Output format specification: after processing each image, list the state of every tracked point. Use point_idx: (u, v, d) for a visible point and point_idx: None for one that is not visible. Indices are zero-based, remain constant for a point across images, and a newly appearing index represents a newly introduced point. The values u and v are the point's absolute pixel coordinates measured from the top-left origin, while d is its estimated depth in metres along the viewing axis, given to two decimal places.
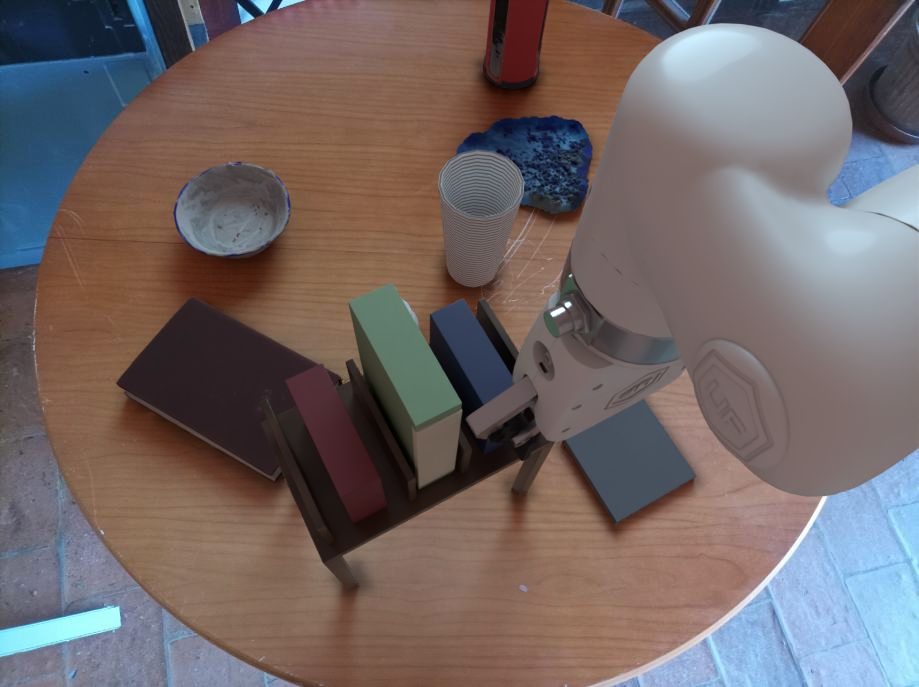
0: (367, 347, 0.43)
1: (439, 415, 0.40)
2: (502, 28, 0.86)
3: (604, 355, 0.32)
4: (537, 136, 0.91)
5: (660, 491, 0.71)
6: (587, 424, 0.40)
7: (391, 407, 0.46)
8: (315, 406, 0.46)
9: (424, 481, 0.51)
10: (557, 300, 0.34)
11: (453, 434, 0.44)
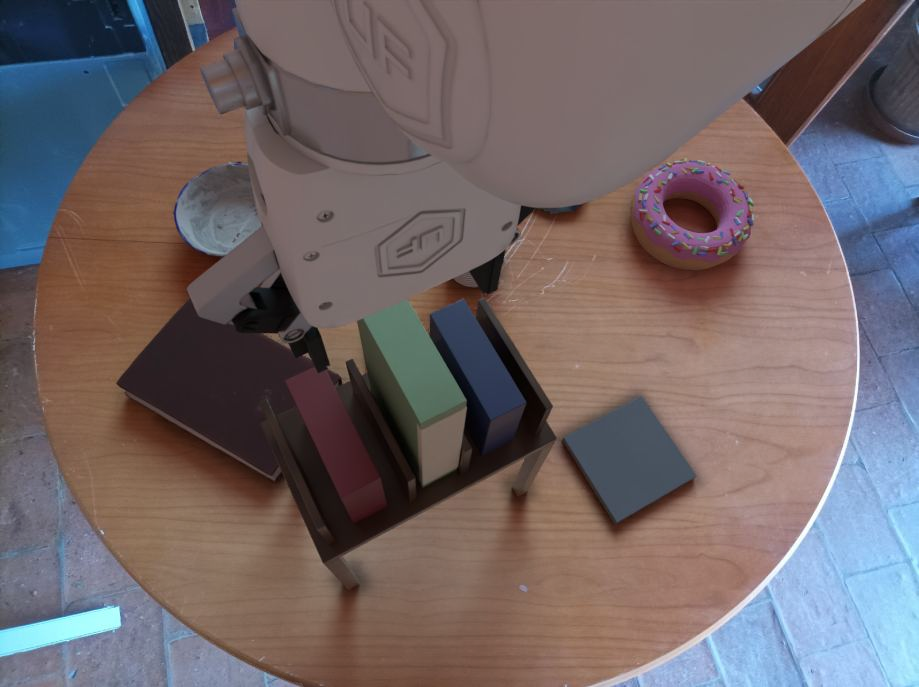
0: (371, 345, 0.43)
1: (444, 412, 0.40)
2: None
3: (311, 152, 0.21)
4: None
5: (660, 491, 0.71)
6: (365, 302, 0.28)
7: (395, 405, 0.46)
8: (315, 406, 0.46)
9: (428, 479, 0.51)
10: None
11: (457, 432, 0.44)
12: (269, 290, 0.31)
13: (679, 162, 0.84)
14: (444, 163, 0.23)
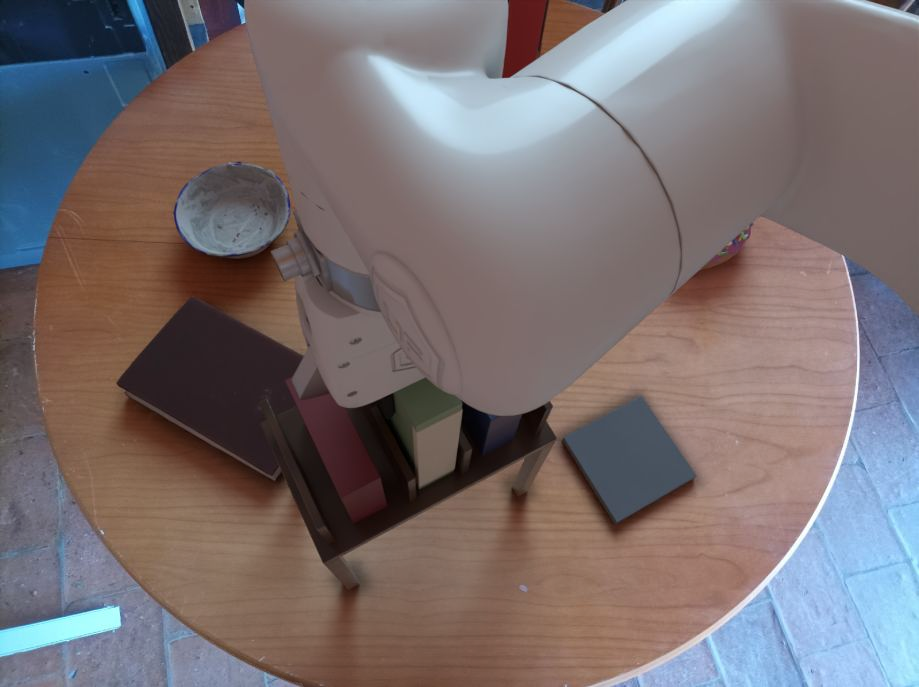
0: None
1: (439, 415, 0.40)
2: None
3: (347, 302, 0.29)
4: None
5: (660, 491, 0.71)
6: (382, 388, 0.37)
7: None
8: (315, 406, 0.46)
9: (424, 481, 0.51)
10: None
11: (453, 434, 0.44)
12: None
13: None
14: None
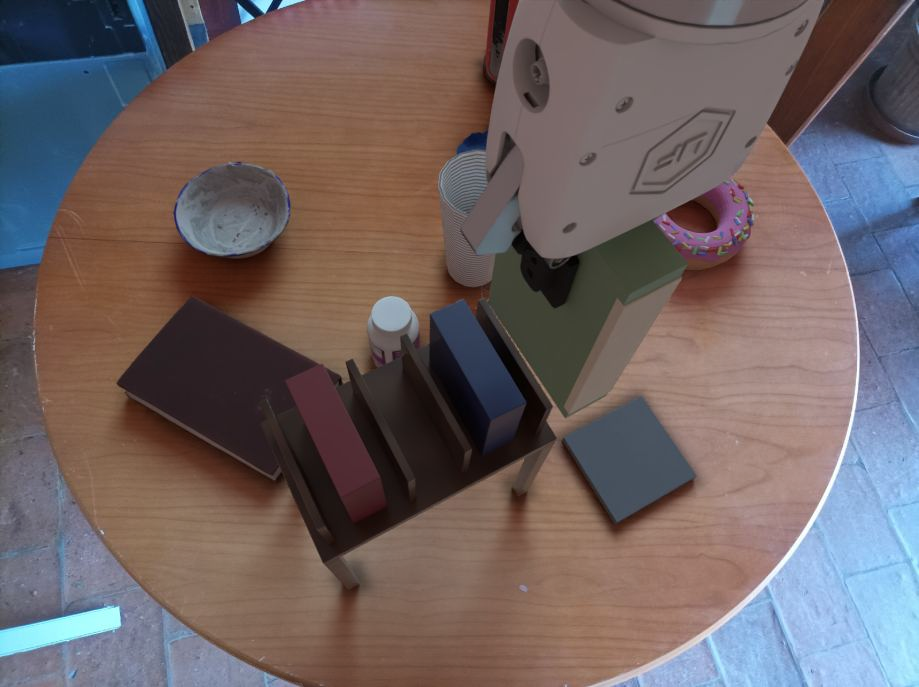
0: None
1: (659, 279, 0.28)
2: (502, 28, 0.86)
3: (638, 17, 0.18)
4: None
5: (660, 491, 0.71)
6: (603, 227, 0.26)
7: None
8: (315, 406, 0.46)
9: (579, 404, 0.40)
10: None
11: (648, 324, 0.33)
12: None
13: None
14: (751, 44, 0.20)
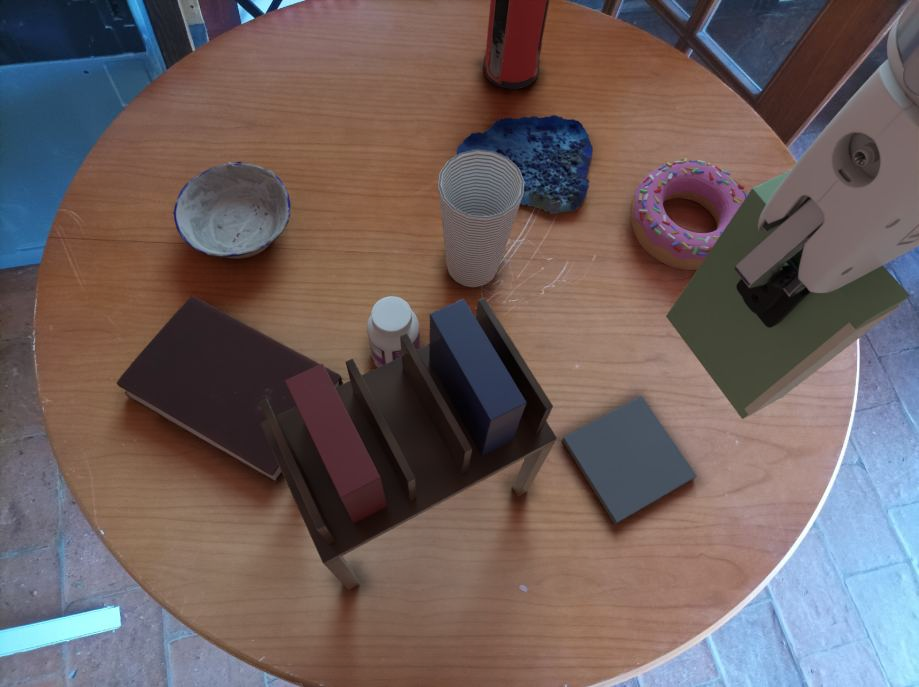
0: None
1: (887, 308, 0.35)
2: (502, 28, 0.86)
3: None
4: (537, 136, 0.91)
5: (660, 491, 0.71)
6: (864, 269, 0.32)
7: None
8: (315, 406, 0.46)
9: (761, 407, 0.46)
10: (890, 70, 0.26)
11: (852, 342, 0.39)
12: None
13: (679, 162, 0.84)
14: None
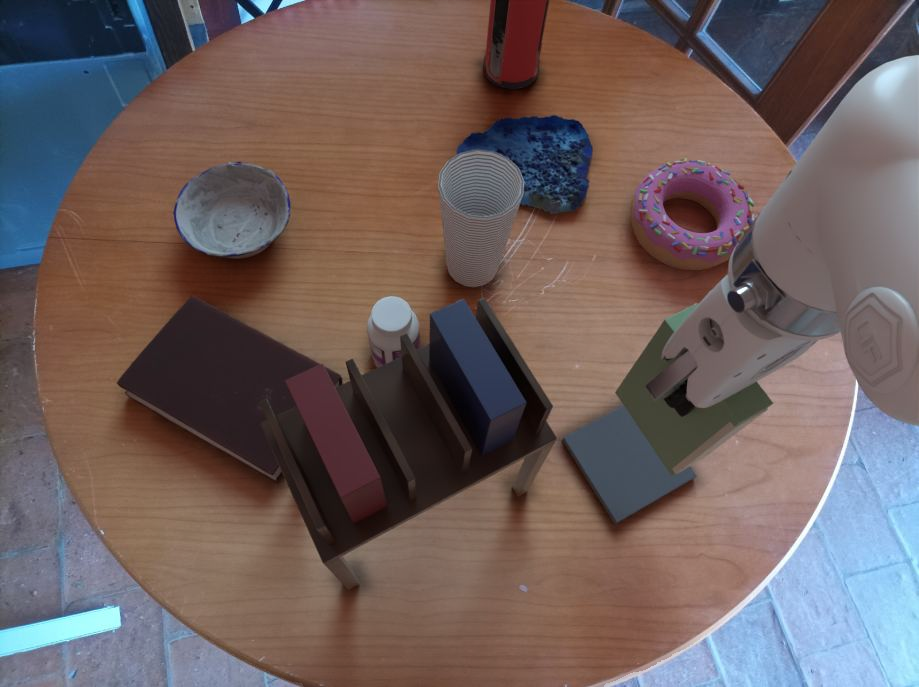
0: None
1: (756, 413, 0.49)
2: (502, 28, 0.86)
3: (775, 328, 0.38)
4: (537, 136, 0.91)
5: (660, 491, 0.71)
6: (731, 392, 0.46)
7: None
8: (315, 406, 0.46)
9: (684, 468, 0.60)
10: (728, 282, 0.40)
11: (741, 428, 0.53)
12: None
13: (679, 162, 0.84)
14: None
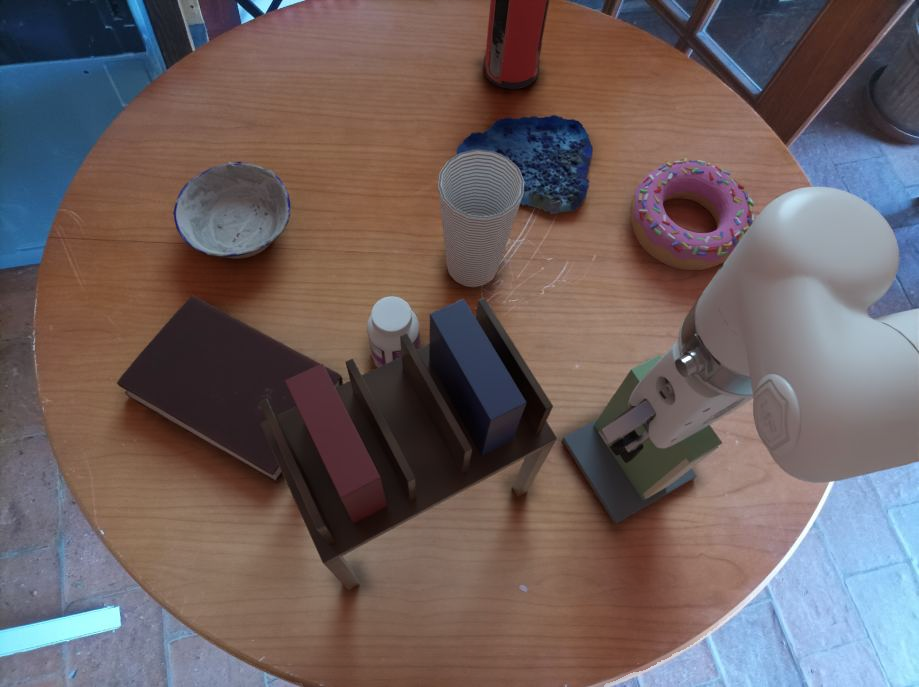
0: None
1: (708, 451, 0.57)
2: (502, 28, 0.86)
3: (715, 388, 0.46)
4: (537, 136, 0.91)
5: (660, 491, 0.71)
6: (687, 435, 0.54)
7: (647, 442, 0.63)
8: (315, 406, 0.46)
9: (652, 494, 0.68)
10: (678, 348, 0.48)
11: (698, 462, 0.62)
12: None
13: (679, 162, 0.84)
14: None
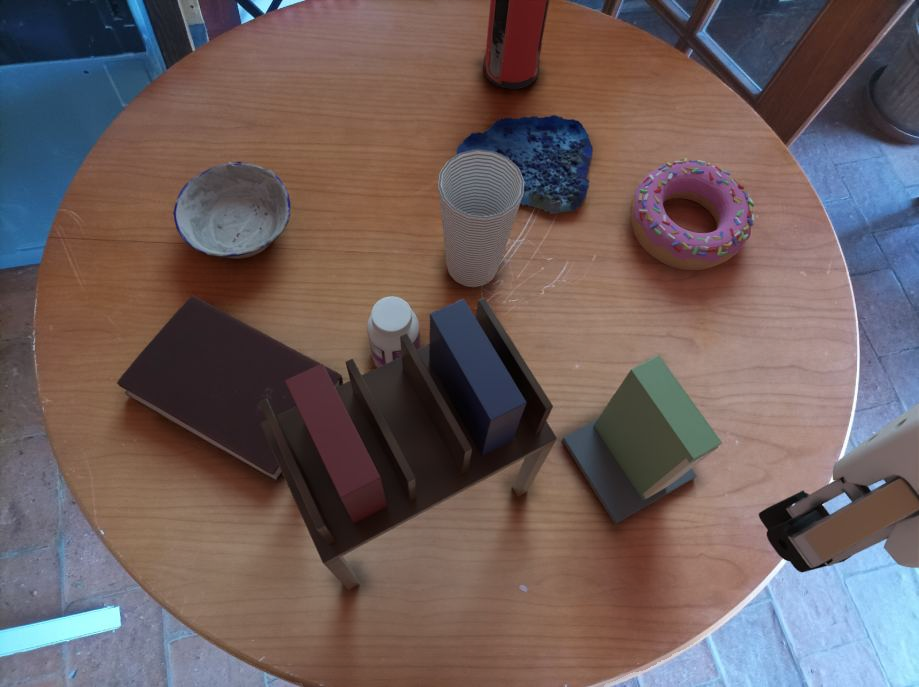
0: (640, 400, 0.61)
1: (708, 451, 0.57)
2: (502, 28, 0.86)
3: None
4: (537, 136, 0.91)
5: (660, 491, 0.71)
6: None
7: (647, 442, 0.63)
8: (315, 406, 0.46)
9: (652, 494, 0.68)
10: None
11: (698, 462, 0.62)
12: (817, 513, 0.29)
13: (679, 162, 0.84)
14: None
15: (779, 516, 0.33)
